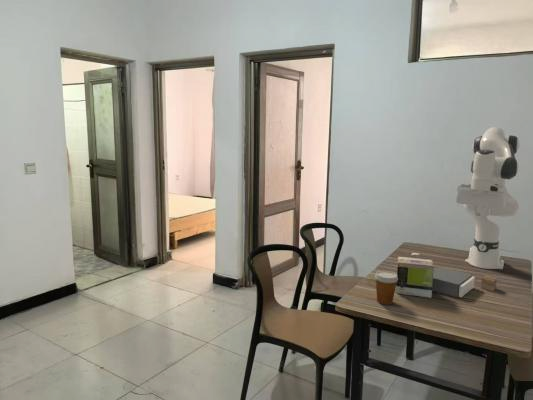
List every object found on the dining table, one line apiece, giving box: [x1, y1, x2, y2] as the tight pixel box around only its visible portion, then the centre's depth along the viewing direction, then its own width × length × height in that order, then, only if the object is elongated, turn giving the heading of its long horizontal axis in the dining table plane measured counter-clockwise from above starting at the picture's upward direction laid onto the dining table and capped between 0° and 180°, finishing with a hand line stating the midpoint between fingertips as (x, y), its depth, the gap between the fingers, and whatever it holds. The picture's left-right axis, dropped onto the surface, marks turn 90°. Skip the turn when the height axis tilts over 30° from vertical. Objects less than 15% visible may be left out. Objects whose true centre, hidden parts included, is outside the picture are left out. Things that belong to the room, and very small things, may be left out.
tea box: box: [395, 256, 435, 299], centre depth 180 cm, size 15×10×15 cm
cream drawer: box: [458, 275, 476, 298], centre depth 186 cm, size 17×15×5 cm
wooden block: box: [480, 275, 498, 292], centre depth 187 cm, size 5×5×5 cm
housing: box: [432, 266, 473, 299], centre depth 187 cm, size 18×15×6 cm
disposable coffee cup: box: [374, 270, 398, 305], centre depth 169 cm, size 10×10×12 cm
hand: (478, 215), depth 185 cm, fingers closed
